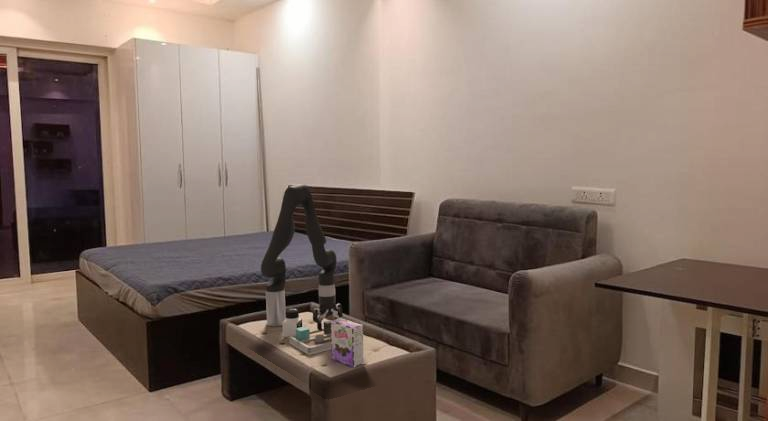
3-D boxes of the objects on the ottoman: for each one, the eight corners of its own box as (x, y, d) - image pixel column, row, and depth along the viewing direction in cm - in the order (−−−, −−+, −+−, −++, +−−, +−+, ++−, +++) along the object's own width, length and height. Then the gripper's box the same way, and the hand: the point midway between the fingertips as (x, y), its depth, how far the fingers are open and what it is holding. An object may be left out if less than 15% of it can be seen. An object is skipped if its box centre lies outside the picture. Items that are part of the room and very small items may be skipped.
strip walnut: (302, 346, 238) (302, 332, 238) (338, 337, 249) (338, 324, 248) (309, 350, 233) (309, 336, 232) (346, 341, 244) (345, 327, 243)
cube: (295, 338, 245) (295, 328, 245) (304, 336, 248) (304, 326, 247) (300, 341, 241) (300, 331, 241) (309, 338, 244) (309, 329, 244)
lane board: (288, 342, 246) (288, 336, 246) (327, 333, 258) (327, 327, 257) (308, 355, 231) (308, 348, 231) (349, 344, 242) (349, 337, 242)
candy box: (330, 359, 226) (329, 320, 224) (341, 355, 230) (340, 317, 228) (353, 368, 216) (352, 327, 214) (364, 364, 220) (363, 324, 218)
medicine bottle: (297, 338, 252) (296, 312, 251) (282, 337, 253) (281, 311, 252) (302, 332, 259) (301, 308, 258) (288, 332, 260) (287, 307, 259)
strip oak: (293, 340, 246) (293, 327, 245) (328, 332, 256) (328, 319, 255) (300, 344, 240) (299, 331, 240) (335, 336, 251) (335, 322, 250)
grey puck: (314, 342, 240) (313, 335, 239) (321, 340, 242) (321, 333, 241) (318, 344, 237) (317, 337, 236) (325, 342, 239) (325, 336, 239)
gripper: (336, 289, 257) (337, 323, 259) (309, 294, 249) (310, 329, 251) (344, 292, 251) (345, 327, 253) (317, 298, 243) (318, 334, 244)
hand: (328, 328), depth 252 cm, fingers open, 8 cm apart
